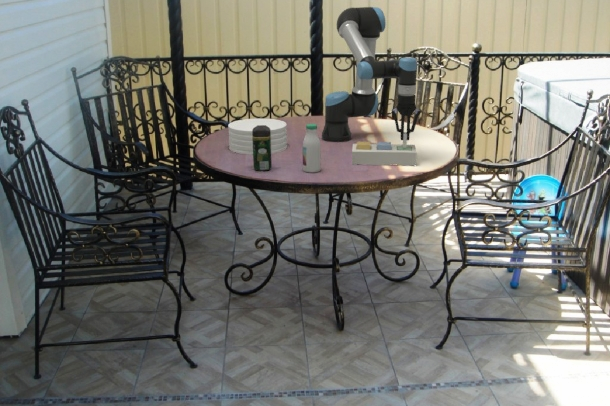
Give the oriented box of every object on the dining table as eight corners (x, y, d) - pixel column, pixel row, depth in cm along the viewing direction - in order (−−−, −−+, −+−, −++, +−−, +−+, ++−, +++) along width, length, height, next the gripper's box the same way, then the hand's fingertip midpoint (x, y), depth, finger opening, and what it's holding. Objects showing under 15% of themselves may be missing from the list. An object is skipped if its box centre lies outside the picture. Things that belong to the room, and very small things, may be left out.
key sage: (397, 158, 293) (397, 149, 292) (396, 154, 299) (397, 146, 297) (411, 158, 293) (411, 149, 291) (410, 154, 298) (410, 146, 297)
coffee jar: (253, 165, 292) (252, 124, 285) (271, 165, 292) (270, 123, 286) (252, 171, 282) (251, 129, 276) (271, 171, 283) (270, 128, 277)
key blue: (377, 154, 293) (377, 145, 292) (377, 150, 299) (377, 141, 298) (390, 154, 293) (391, 145, 291) (390, 150, 298) (390, 142, 297)
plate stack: (254, 138, 341) (253, 116, 337) (298, 145, 325) (298, 122, 321) (217, 149, 319) (216, 126, 315) (262, 158, 304) (261, 133, 300)
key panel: (351, 164, 292) (352, 151, 290) (352, 156, 305) (352, 143, 303) (416, 165, 289) (416, 152, 287) (414, 157, 303) (414, 144, 301)
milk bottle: (322, 168, 286) (323, 123, 280) (317, 173, 279) (317, 127, 273) (306, 167, 289) (305, 122, 282) (300, 172, 282) (299, 125, 275)
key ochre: (356, 153, 294) (357, 144, 293) (357, 150, 300) (357, 141, 298) (370, 153, 294) (370, 145, 292) (370, 150, 299) (370, 141, 298)
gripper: (391, 95, 284) (390, 149, 291) (422, 96, 282) (419, 149, 290) (391, 92, 291) (389, 145, 298) (421, 93, 289) (418, 145, 297)
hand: (404, 147), depth 294 cm, fingers closed
